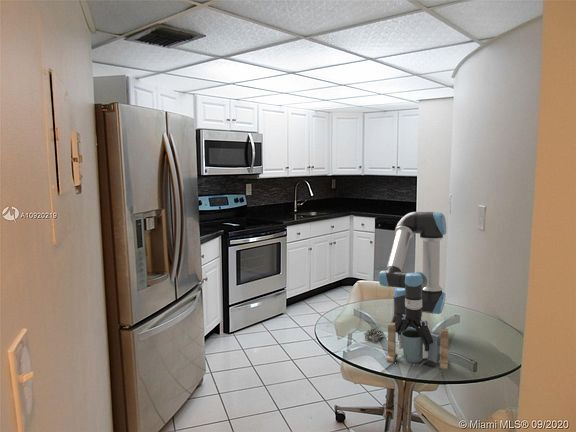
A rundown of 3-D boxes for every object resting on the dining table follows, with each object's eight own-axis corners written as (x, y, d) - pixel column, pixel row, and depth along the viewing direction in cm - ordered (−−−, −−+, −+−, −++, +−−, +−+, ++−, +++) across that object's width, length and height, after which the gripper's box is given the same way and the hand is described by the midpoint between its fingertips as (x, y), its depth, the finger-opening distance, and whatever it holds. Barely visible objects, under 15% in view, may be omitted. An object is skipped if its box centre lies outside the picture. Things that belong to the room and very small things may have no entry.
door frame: (390, 352, 209) (390, 320, 208) (448, 360, 199) (448, 326, 198) (386, 360, 200) (386, 326, 198) (447, 369, 190) (447, 333, 189)
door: (409, 348, 213) (409, 324, 212) (442, 361, 197) (442, 335, 196) (404, 349, 211) (404, 325, 210) (438, 363, 195) (438, 337, 194)
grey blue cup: (398, 357, 204) (396, 332, 202) (415, 351, 208) (413, 327, 207) (413, 365, 195) (411, 339, 193) (430, 359, 199) (429, 334, 197)
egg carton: (375, 343, 223) (375, 335, 222) (362, 339, 227) (362, 332, 227) (384, 336, 231) (384, 329, 231) (371, 333, 236) (371, 326, 235)
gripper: (387, 302, 207) (387, 346, 209) (430, 315, 187) (430, 364, 189) (398, 299, 212) (397, 342, 214) (442, 312, 191) (441, 359, 193)
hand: (413, 352), depth 201 cm, fingers open, 13 cm apart
